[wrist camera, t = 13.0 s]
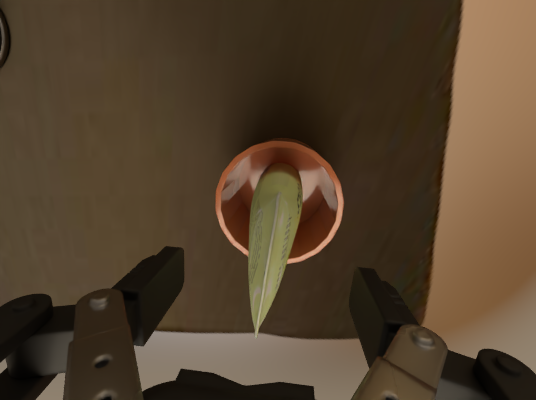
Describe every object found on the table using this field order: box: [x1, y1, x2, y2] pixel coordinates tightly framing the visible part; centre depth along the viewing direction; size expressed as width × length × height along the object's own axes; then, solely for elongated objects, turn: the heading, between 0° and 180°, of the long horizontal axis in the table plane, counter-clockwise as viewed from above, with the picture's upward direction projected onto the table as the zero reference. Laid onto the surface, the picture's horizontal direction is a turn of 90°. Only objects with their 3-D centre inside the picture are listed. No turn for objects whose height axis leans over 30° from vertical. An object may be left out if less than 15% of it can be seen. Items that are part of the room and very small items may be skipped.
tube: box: [248, 163, 303, 338], centre depth 21 cm, size 6×5×20 cm
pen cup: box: [216, 138, 344, 264], centre depth 27 cm, size 11×11×9 cm
